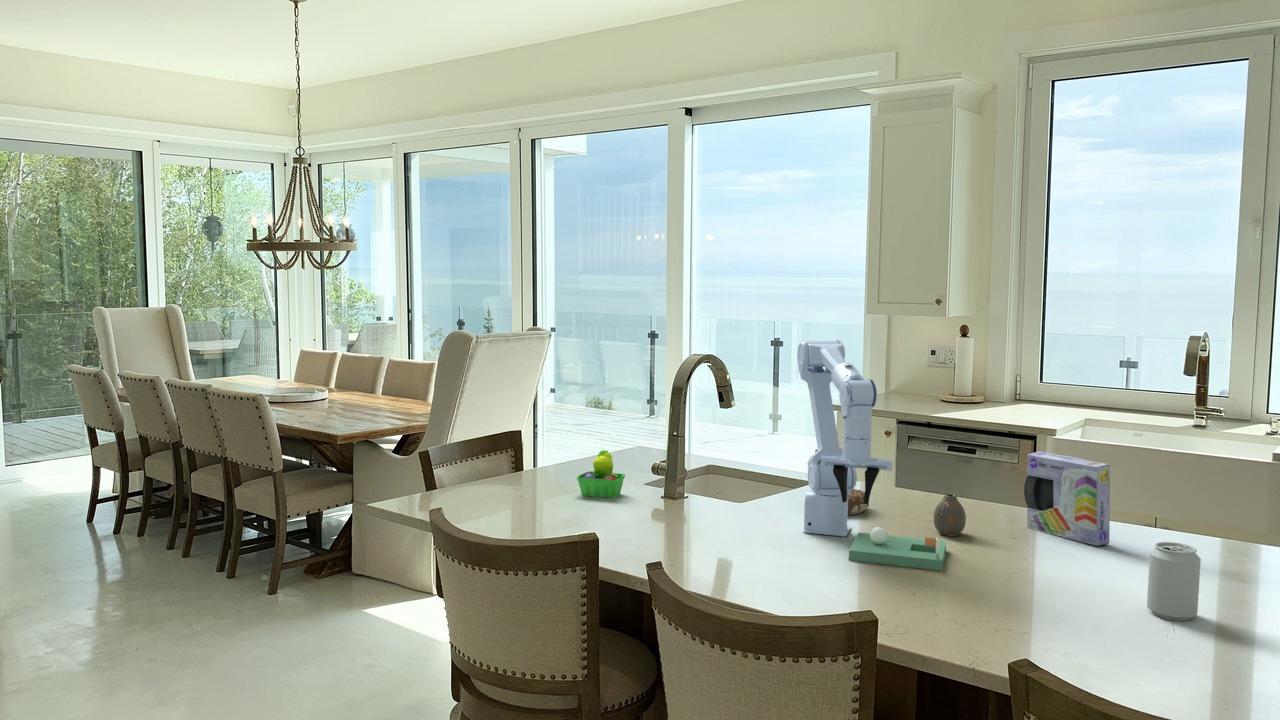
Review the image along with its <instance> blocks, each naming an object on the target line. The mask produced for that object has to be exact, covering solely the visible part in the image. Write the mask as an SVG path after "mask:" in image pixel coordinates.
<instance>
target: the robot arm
mask: <svg viewBox="0 0 1280 720" xmlns="http://www.w3.org/2000/svg"><path fill="white" fill-rule="evenodd" d="M796 358H797V365H798V373H799V375H800V379H801V380H803V381H805V383H807V387H808V393H809V400H810V405H811V412H812V418H813V426H814V431H815V439H816V444H817V445H816V446H817V447H816V448H817V451H815V452H814V453H813V454H812V455H811V456H810V457H809V458H808V461H807V482H808V486H809V488H810V490H807V491H806V492H805V496H804V497H805V499H804V516H803V518H804V519H803V531H802V532H803V533H806V534H809V533H810V534H818V535H825V536H826V535H827V536H836V537H847V535H848V534H849V532H850V531H851V529H852V526H851V525H848V494H851V490H853V489H855V487H856V486H857V481H858V474H857V469H864V470H865V469H866V470H865V471H864V483H865V484H864V492H865V496H864V504H868V503H869V502H870V497H871V494H872V493H871V492H872V489H873V486H874V483H875V481H876V479H877V478H878V476H879V473H880V471H886V472H887V471H888V472H892V471H893V469H894V460H892V459H884V458H883V459H882V458H876V457H872V455H871V454H872V418H873V417H872V416H873V414H872V411H873V408H874V407H875V406H876V404H877V399H878V390H877V389H878V388H877V386H876V383H875V381H874V380H873V379H871V378H870V379H869V378H868V379H867V378H866V379H865V378H864V377H863V376H862V374H860V372H859V370H858V369H857V368H856V367H855V365H853V363H852V362H846V360H845V359H846V349H845V345H844V343H843V342H842V341H841V340H840V339H839V340H838V339H837V340H801V341H800V342H799V344H798V347H797V355H796ZM831 382H832V383H833V385H834V386H835V388H836V389H837V391H838V395H839V397H838V398H839V403H840V412H841V416H843V417H842V419H843V420H842V421H843V422H842V448H841V447H840V442H839V436H838V430H837V423H836V417H835V412H834V411H835V410H834V404H833V398H832V394H831V393H832V392H831V386H830V385H831ZM869 504H870V503H869Z"/></svg>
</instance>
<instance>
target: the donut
mask: <svg viewBox="0 0 1280 720" xmlns="http://www.w3.org/2000/svg"><path fill="white" fill-rule="evenodd" d="M864 496H865V490H861V489H857V488H856V489H855V488H854V489H853V490H851V494H848V515H851V516H852V515H856V514H857V515H858V514H861V513H862V512H864V511H865V510H866V509H867V508H869V507H870V506H869V505H870V503H868V504H864Z"/></svg>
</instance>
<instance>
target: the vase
mask: <svg viewBox="0 0 1280 720" xmlns="http://www.w3.org/2000/svg"><path fill="white" fill-rule="evenodd" d="M932 517H933V519H932V520H933V524H934V527H935V529H936V531H937V532H938V533H939V534H940V535H943V536H949V537H957V536H959V535H960V534H961V533H962V532H963V531H964V529H965V527H966V522H967V515H966V511H965V507H963V505H962V503H961V502H960V501H959V499H958V497H957V496H956V494H952V493H947V494H944V496H943V498H942V499H941V500H940V501H939V502H938V504H937V505H935V509H934V511H933V516H932Z"/></svg>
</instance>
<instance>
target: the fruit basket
mask: <svg viewBox="0 0 1280 720" xmlns="http://www.w3.org/2000/svg"><path fill="white" fill-rule="evenodd" d="M596 456H597V457H595V459H593V462H592V465H593V470H590V471H586V472H583V473H582V474H579V475H577V476H576V480H577V482H578V486H579V489H580V492H581V496H582V495H583V496H584V497H597V498H598V497H599V498H610V499H615V498H616V497H618V496H619V495H620V494H621V492H622V487H623V485H624V479H625V477H626V474H625V473H617V472H616V473H614V472H613V469H614V461H613V456H612V454H611V453H610V452H609V450H605V449H603V450H599V453H598V454H597V455H596Z"/></svg>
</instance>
